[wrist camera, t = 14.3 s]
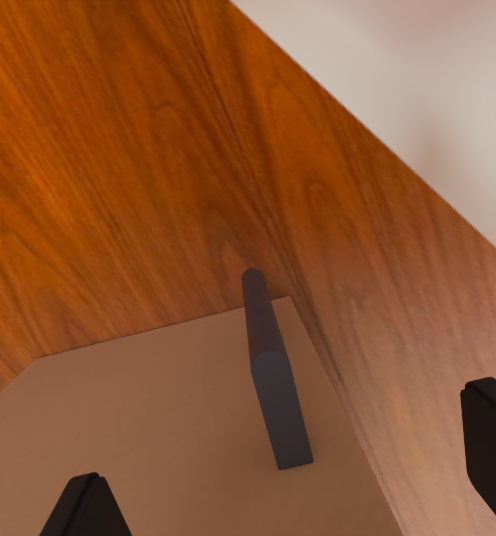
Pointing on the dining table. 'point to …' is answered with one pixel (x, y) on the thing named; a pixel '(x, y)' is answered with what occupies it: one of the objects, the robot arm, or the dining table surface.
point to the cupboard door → (193, 431)
